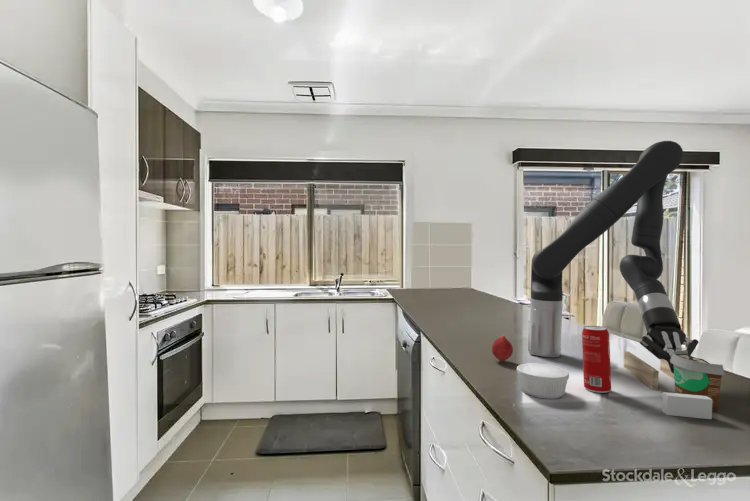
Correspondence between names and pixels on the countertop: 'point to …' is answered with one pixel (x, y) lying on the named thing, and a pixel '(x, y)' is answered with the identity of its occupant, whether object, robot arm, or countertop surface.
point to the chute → (645, 369)
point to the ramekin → (542, 380)
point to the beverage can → (596, 359)
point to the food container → (696, 376)
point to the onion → (502, 348)
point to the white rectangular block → (687, 405)
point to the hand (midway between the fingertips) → (680, 374)
